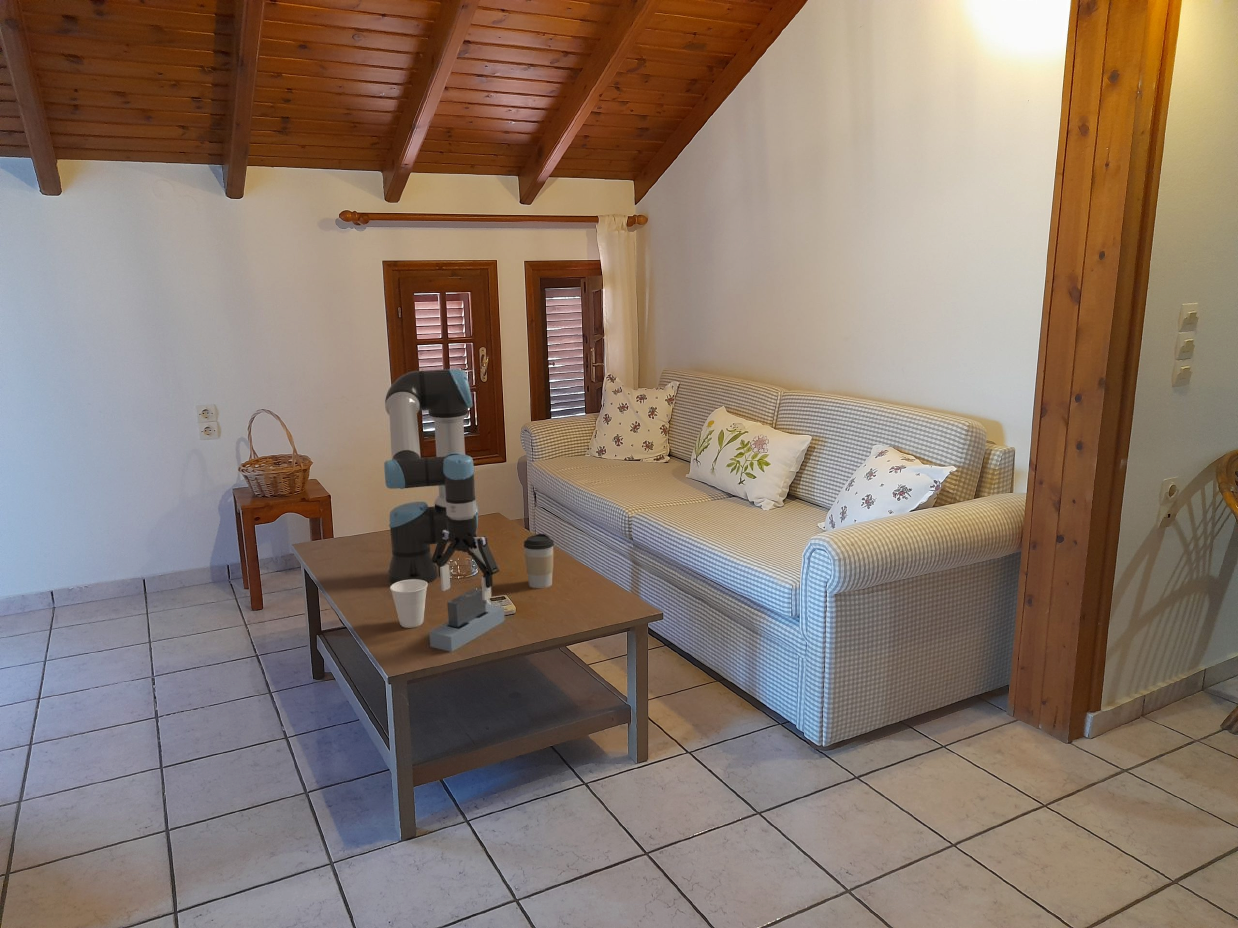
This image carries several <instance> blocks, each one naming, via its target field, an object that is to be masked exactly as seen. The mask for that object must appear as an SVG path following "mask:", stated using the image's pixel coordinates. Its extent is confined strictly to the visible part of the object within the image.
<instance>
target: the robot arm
mask: <svg viewBox="0 0 1238 928" xmlns="http://www.w3.org/2000/svg"><path fill="white" fill-rule="evenodd" d="M469 383H470V382H469V379H468V375H467V373H466V371H465V370H463V369H454V368H453V369H452V368H446V369H444V368H443V369H432V370H428V369H427V370H413V371H410V372H409V371H408V372H407V373H404V374H403V375H400V377H398V378H397V379H396V380H395V381H394V382H393V383H392V384H391V385H390V387H389V388H388V390H387V392H386V395H385V399H384V403H385V405H384V406H385V407H384V408H385V411H386V413H387V415H388V416H389V429H390V430H389V431H390V434H389V435H390V451H391V459H390V460H386V461H385V462H384V464H383V466H384V468H383V469H384V479H385V481H384V482H385V487H386V488H388V490H389V489H390V490H392V489H393V490H395V489H396V490H397V489H400V490H404V489H412V488H423V487H424V488H425V487H438V496H437V497H436V498H435V499H434V502H433V503H434V505H433V506H429V505H428V504H427V502H426V501H412V502H407V503H403V504H400V505H398V506H395V507H394V508H392V510H391V511H390V512H389V524H388V527H389V528H390V529H389V530H390V544H391V560H390V564H389V569H388V571H387V579H388V582H389V583H390V584H391V585H392V584H394V583H396V582H399V581H403V580H411V579H417V580H423V581H426V582H427V584H428V583H430V582H433V581H435V580H436V579H437V578H438V577H439V578H440V589H441V591H442V592H445V591H447V590H449V589H451V579H450V578H451V577H450V575H451V574H450V565H449V564H448V563H449V560H450V559H451V557H452V556H453V555H454V554H455V552H456V551H457V552H463V553H467V554H468V555H469V556H471V558H472V559H473V561H474V562H475V563H476V565H477V567H478V568H479V570H480V571H481V573H482V575H481V589H482V598H483V600H485V601H487V600H489V599H490V598H492V587H493V584H494V582H493V575H495V574H497V573H499V572H500V570H499V567H498V565H497V563H496V560H495V558H494V556H493V553H492V551H491V549H490V547H489V544H488V537H487V536H486V535H483V536H481V537H480V536H478V535H477V533H478V525H479V524H478V523H479V522H478V521H479V517H478V516H479V506H478V503H477V501H476V493H475V491H476V490H475V489H476V488H475V467H474V460H473V457H471V456H470V455H467V454H466V448H465V447H466V445H465V429H464V419H465V418H466V417H467V416H468V414H469V409H470V408H472V407H473V399H472V393H471V388H470V384H469ZM419 411H428V416H429V418H431V419H432V420H433V422H434V436H435V437H434V438H435V439H434V440H435V451H436V454H435V455H436V456H433V457H421V456H422V455H421V447H420V446H421V445H420V436H419V425H418V413H419ZM447 544H449V545H448V546H447ZM431 545H436V546H435V549H434V553H433V554H432V552H431ZM445 549H446V550H445Z"/></svg>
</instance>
